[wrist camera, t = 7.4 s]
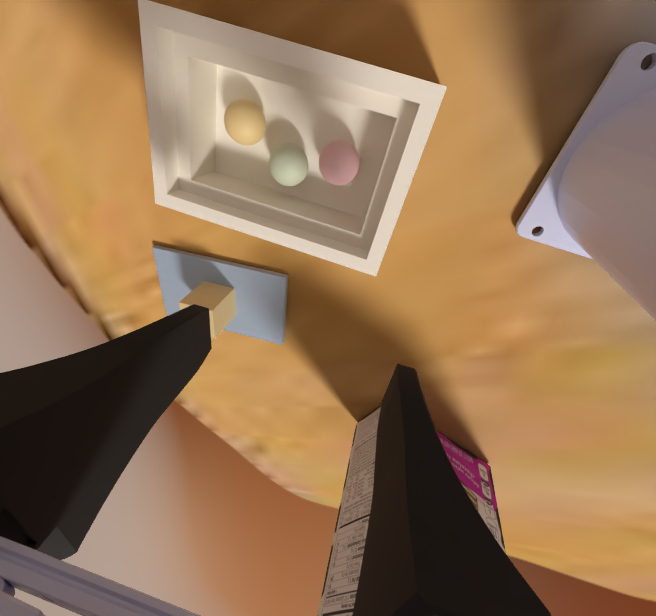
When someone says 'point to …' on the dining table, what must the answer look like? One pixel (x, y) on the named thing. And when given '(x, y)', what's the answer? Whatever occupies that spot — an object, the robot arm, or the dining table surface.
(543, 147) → the dining table surface
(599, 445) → the dining table surface
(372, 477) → the candy bar box
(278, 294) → the lid
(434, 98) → the box
